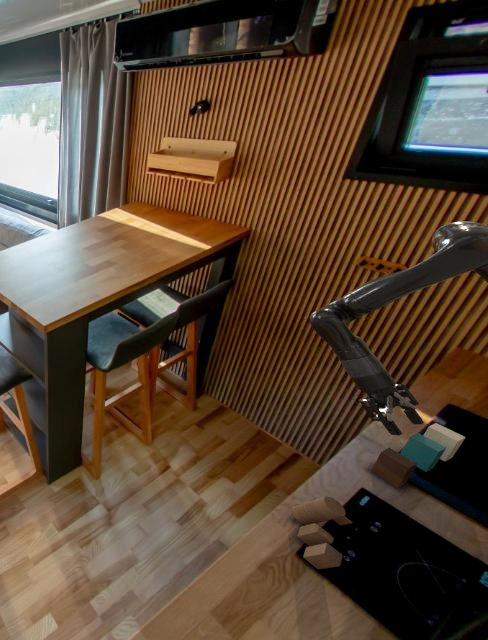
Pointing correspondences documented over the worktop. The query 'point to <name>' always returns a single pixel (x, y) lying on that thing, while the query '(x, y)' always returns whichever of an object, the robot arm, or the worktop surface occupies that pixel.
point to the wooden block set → (320, 530)
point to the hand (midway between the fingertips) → (408, 429)
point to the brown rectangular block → (393, 467)
